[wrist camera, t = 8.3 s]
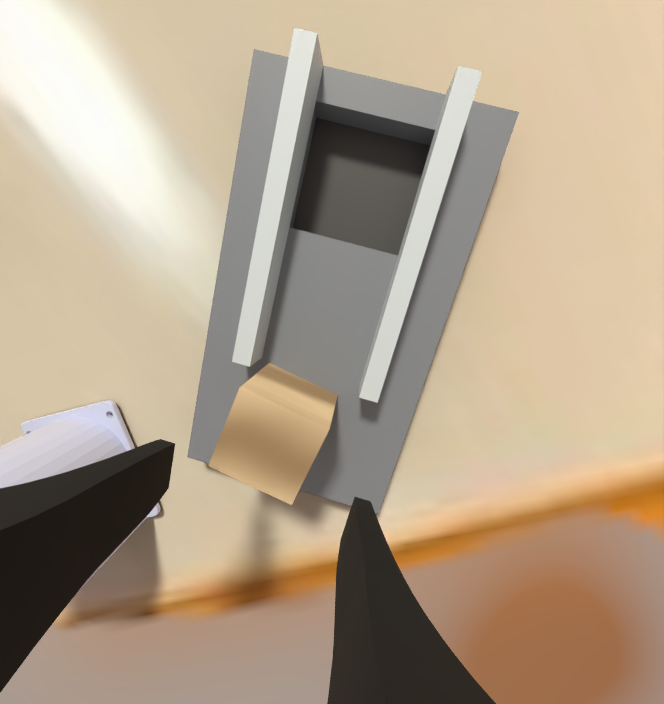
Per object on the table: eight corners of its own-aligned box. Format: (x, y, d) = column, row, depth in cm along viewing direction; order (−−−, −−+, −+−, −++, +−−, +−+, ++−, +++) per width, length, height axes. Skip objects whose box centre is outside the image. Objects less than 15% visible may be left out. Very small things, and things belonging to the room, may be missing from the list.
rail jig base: (266, 75, 17) (237, 14, 13) (500, 132, 16) (542, 85, 13) (202, 441, 22) (168, 475, 18) (377, 493, 22) (380, 539, 18)
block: (269, 362, 18) (239, 387, 14) (337, 394, 18) (329, 429, 14) (243, 424, 20) (208, 465, 15) (307, 455, 20) (291, 505, 15)
